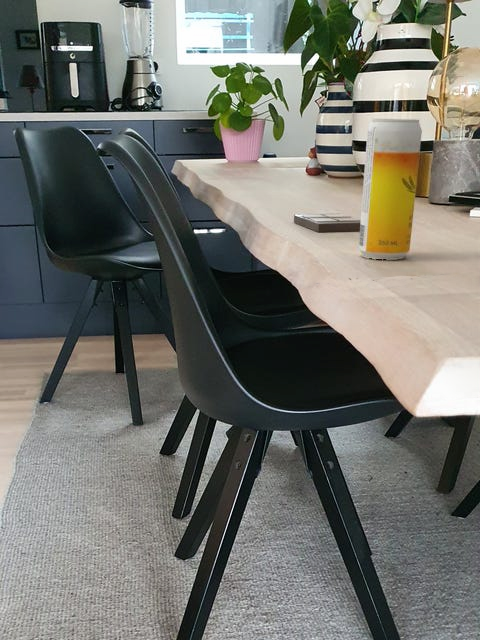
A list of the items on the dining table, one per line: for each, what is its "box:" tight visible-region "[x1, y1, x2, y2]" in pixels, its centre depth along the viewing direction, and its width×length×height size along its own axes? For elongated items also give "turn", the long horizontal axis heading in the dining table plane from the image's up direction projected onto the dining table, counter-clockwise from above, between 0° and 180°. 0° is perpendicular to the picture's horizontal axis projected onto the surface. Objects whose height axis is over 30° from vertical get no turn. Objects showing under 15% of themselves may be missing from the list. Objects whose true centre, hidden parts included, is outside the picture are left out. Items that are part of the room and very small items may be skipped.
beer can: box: [358, 118, 423, 261], centre depth 93 cm, size 6×6×15 cm
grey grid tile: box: [293, 213, 361, 233], centre depth 120 cm, size 11×8×1 cm
